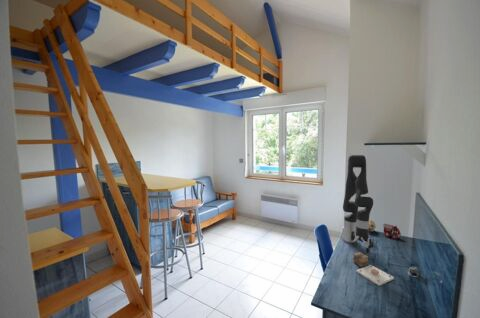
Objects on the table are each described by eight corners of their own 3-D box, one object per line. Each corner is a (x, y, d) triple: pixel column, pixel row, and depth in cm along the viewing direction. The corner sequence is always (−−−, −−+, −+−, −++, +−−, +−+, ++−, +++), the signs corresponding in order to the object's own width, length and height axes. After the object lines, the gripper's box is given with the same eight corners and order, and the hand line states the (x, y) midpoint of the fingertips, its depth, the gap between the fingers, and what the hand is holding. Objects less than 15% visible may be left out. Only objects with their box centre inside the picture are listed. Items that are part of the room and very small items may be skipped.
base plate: (356, 271, 132) (356, 267, 132) (370, 266, 138) (371, 261, 138) (379, 285, 120) (379, 280, 120) (393, 279, 126) (394, 274, 125)
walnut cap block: (353, 262, 143) (353, 253, 143) (359, 260, 146) (359, 252, 145) (361, 267, 138) (362, 258, 137) (367, 264, 140) (368, 256, 140)
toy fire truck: (399, 240, 176) (400, 228, 175) (382, 235, 184) (382, 224, 183) (400, 237, 181) (401, 226, 180) (383, 233, 189) (384, 222, 189)
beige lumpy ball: (361, 231, 193) (362, 220, 192) (363, 227, 202) (364, 216, 201) (374, 234, 187) (375, 222, 186) (375, 230, 196) (376, 219, 195)
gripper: (349, 223, 144) (348, 246, 145) (369, 231, 132) (368, 256, 133) (356, 221, 148) (355, 244, 149) (377, 229, 135) (375, 253, 136)
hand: (361, 249), depth 141 cm, fingers open, 8 cm apart
